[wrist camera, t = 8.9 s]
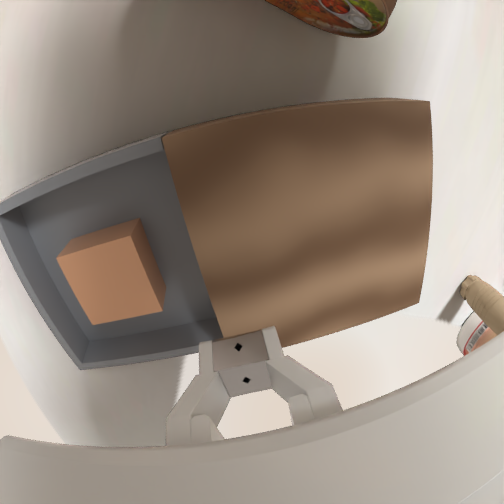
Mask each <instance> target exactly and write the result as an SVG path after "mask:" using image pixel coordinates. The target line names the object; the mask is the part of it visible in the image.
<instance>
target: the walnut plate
mask: <svg viewBox="0 0 504 504" xmlns="http://www.w3.org/2000/svg"><path fill="white" fill-rule="evenodd" d="M162 141H163V145H164V149H165V153H166V156H167V160H168V164H169V167H170V171H171V175H172V178H173V182H174V185H175V189H176V192H177V196H178V199H179V203H180V206H181V210H182V213H183V216H184V220H185V223H186V226H187V229H188V233H189V236H190V239H191V242H192V245H193V249H194V252H195V255H196V258H197V261H198V264H199V267H200V270H201V273H202V276H203V279H204V282H205V285H206V288H207V291H208V294H209V297H210V300H211V303H212V306H213V309H214V312H215V314H216V317H217V320H218V323H219V326H220V328H221V331H222V334H223V337H224V338H225V337H230V336H236V335H239V334H243V333H248V332H252V331H256V330H260V329H261V330H262V329H264V328H268V327H272V326H275V328H276V331H277V334H278V338H279V341H280V344H281V347H282V348H283V347H287V346H291V345H294V344H298V343H301V342H305V341H308V340H312V339H315V338H319V337H322V336H325V335H329V334H332V333H335V332H339V331H342V330H345V329H348V328H351V327H354V326H357V325H360V324H363V323H366V322H369V321H372V320H374V319H377V318H380V317H383V316H386V315H389V314H391V313H394V312H397V311H399V310H402V309H405V308H407V307H410V306H412V305H415V304H417V303H419V299H420V294H421V289H422V283H423V277H424V270H425V264H426V256H427V248H428V240H429V230H430V218H431V203H432V178H433V150H432V124H431V110H430V101H422V100H411V99H398V98H369V99H351V100H338V101H327V102H317V103H308V104H300V105H293V106H286V107H279V108H273V109H267V110H261V111H255V112H250V113H244V114H239V115H234V116H230V117H225V118H220V119H216V120H212V121H207V122H203V123H199V124H195V125H191V126H187V127H184V128H180V129H176V130H173V131H171V132H170V133H168V134H167V135H165V136H164V137H162Z"/></svg>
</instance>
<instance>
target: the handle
mask: <svg viewBox="0 0 504 504" xmlns="http://www.w3.org/2000/svg"><path fill="white" fill-rule="evenodd" d="M461 285H462V287H461V290H460V294H461V296H462V297H463V299H464V300H466V299H467V303H468V304H469V305H470V307H471V308H472V309H473V310H474V312H475V313H476V314H477V315H478V316H479V318H480V319H481V320H482V321H483V322H484V323H485V324H486V325H487V326H488V327H489V328H490V329H491V330H492V331H493V332H494V333H496V334H497V335H499V334H500V333H502V332H503V331H504V296H502V295H501V294H500V293H499V292H498V291H497V290H496V289H494V288H493V287H492V286H490V285H489V284H488V283H486V282H484V281H482V280H481V279H480V278H479V277H477V276H472V275H469V276H468V277H467V279H466V280H465V281H464V282H462V284H461Z"/></svg>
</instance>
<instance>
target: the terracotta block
mask: <svg viewBox="0 0 504 504" xmlns="http://www.w3.org/2000/svg"><path fill="white" fill-rule="evenodd" d="M56 259H57V261H58V263H59V265H60V267H61V269H62V271H63V273H64V275H65V277H66V279H67V281H68V283H69V285H70V286H71V288H72V290H73V292H74V294H75V296H76V297H77V299H78V301H79V303H80V304H81V306H82V308H83V310H84V311H85V313H86V315H87V316H88V318H89V320H90V321H91V323H92V325H96V324H101V323H106V322H112V321H117V320H122V319H127V318H132V317H137V316H142V315H146V314H151V313H156V312H161V311H163V305H164V299H165V292H166V285H165V283H164V280H163V278H162V275H161V273H160V270H159V268H158V265H157V263H156V260H155V258H154V255H153V252H152V250H151V247H150V244H149V242H148V239H147V236H146V234H145V231H144V228H143V225H142V223H141V220H140V218H137V219H134V220H130V221H127V222H124V223H120V224H117V225H114V226H111V227H107V228H104V229H101V230H98V231H95V232H92V233H88V234H85V235H82V236H79V237H76V238H73V239H71V240H70V241H69V243H68V244H67V245H66V246H65V248H64V249H63V250H62V251H61V253H60V254H59V255H58V256H57V258H56Z"/></svg>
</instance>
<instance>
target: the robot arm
mask: <svg viewBox="0 0 504 504" xmlns="http://www.w3.org/2000/svg"><path fill="white" fill-rule="evenodd" d="M199 373H200V375H196V376H195V377H194V379H193V380H192V382H191V383H190V385H189V386H188V388H187V389H186V390H185V392H184V393H183V395H182V396H181V398H180V399H179V401H178V402H177V403H176V405H175V406H174V408H173V409H172V411H171V412H170V413H169V415H168V416H167V418H166V446H154V447H96V446H80V445H68V444H57V443H50V442H42V441H36V440H30V439H24V438H19V437H14V436H5V437H3V438H2V439H1V440H0V504H504V331H503V332H502V333H500V334H499V335H497V336H496V337H494V338H493V339H491V340H490V341H488V342H487V343H485V344H483V345H482V346H480V347H479V348H477V349H475V350H474V351H472V352H470V353H469V354H467V355H465V356H463V357H462V358H460V359H458V360H457V361H455V362H453V363H451V364H449V365H447V366H445V367H444V368H442V369H440V370H438V371H436V372H434V373H432V374H430V375H428V376H426V377H424V378H422V379H420V380H418V381H416V382H413V383H411V384H409V385H407V386H405V387H402V388H400V389H398V390H395V391H393V392H391V393H389V394H386V395H384V396H381V397H379V398H376V399H374V400H371V401H368V402H366V403H363V404H360V405H358V406H355V407H352V408H349V409H346V410H344V411H343V410H342V407H341V405H340V402H339V400H338V397H337V395H336V393H335V390H334V388H333V385H332V384H331V383H329V382H328V381H326V380H324V379H323V378H321V377H320V376H318V375H317V374H315V373H314V372H312V371H311V370H309V369H308V368H306V367H304V366H303V365H301V364H300V363H298V362H297V361H295V360H294V359H292V358H291V357H290V356H284V354H283V351H282V347H281V344H280V341H279V338H278V334H277V331H276V328H275V326H272V327H268V328H264V329H262V330H261V329H260V330H256V331H252V332H248V333H243V334H239V335H236V336H230V337H225V338H220V339H215V340H211V341H205V342H200V343H199ZM267 389H273V390H274V391H275V392H277V394H278V395H280V396H281V397H282V398H283V399H284V400H285V401H287V402H288V404H289V409H290V414H291V420H292V425H293V426H289V427H285V428H280V429H276V430H272V431H267V432H263V433H258V434H253V435H248V436H242V437H236V438H231V439H224V437H223V436H222V435H221V433H220V432H219V430H218V429H217V426H218V424H219V422H220V420H221V417H222V416H223V413H224V411H225V409H226V407H227V405H228V403H229V401H230V397H235V396H239V395H243V394H247V393H251V392H257V391H262V390H267Z"/></svg>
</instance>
